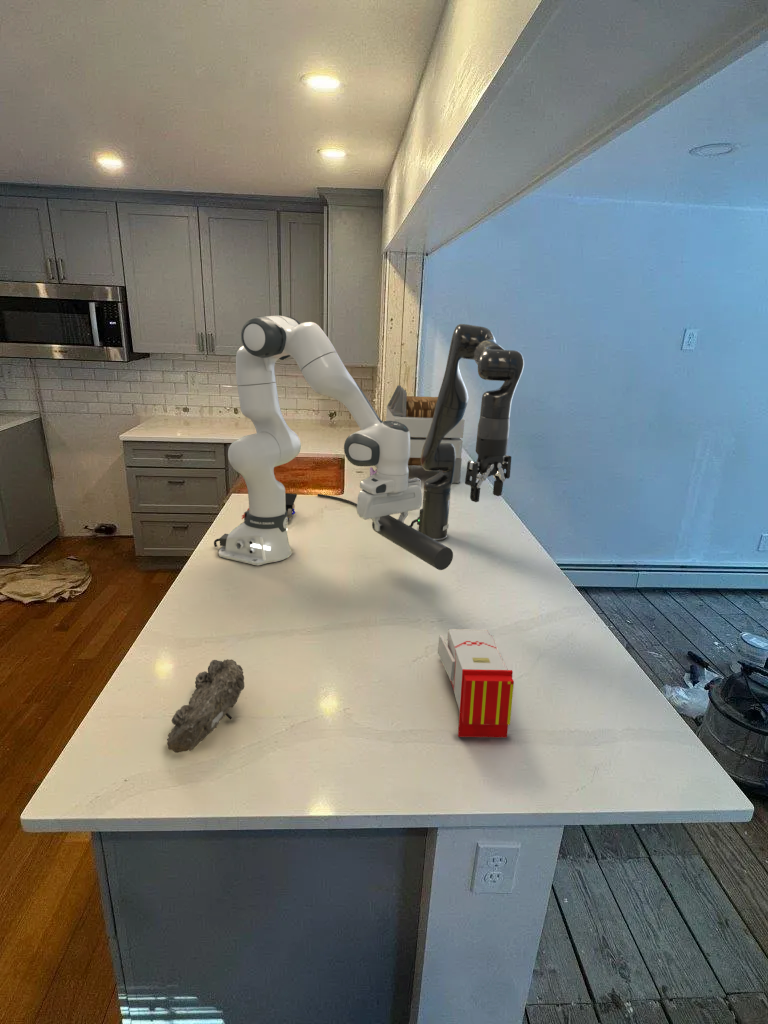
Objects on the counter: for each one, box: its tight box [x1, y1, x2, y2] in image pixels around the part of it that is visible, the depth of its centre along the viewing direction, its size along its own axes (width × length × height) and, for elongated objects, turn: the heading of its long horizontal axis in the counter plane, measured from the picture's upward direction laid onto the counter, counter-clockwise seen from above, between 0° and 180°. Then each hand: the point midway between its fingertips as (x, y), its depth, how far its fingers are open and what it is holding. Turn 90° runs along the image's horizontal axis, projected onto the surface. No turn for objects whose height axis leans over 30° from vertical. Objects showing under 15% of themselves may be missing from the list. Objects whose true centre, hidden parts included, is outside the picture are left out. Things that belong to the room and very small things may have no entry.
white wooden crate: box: [385, 384, 465, 484], centre depth 268 cm, size 34×33×41 cm
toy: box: [437, 628, 515, 738], centre depth 117 cm, size 12×13×30 cm
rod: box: [371, 515, 454, 571], centre depth 152 cm, size 28×6×6 cm, turn 35°
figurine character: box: [285, 492, 298, 523], centre depth 209 cm, size 7×8×15 cm
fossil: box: [166, 658, 245, 754], centre depth 106 cm, size 22×10×15 cm
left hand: (388, 528), depth 160 cm, fingers closed on rod, 6 cm apart
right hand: (485, 498), depth 143 cm, fingers open, 8 cm apart
